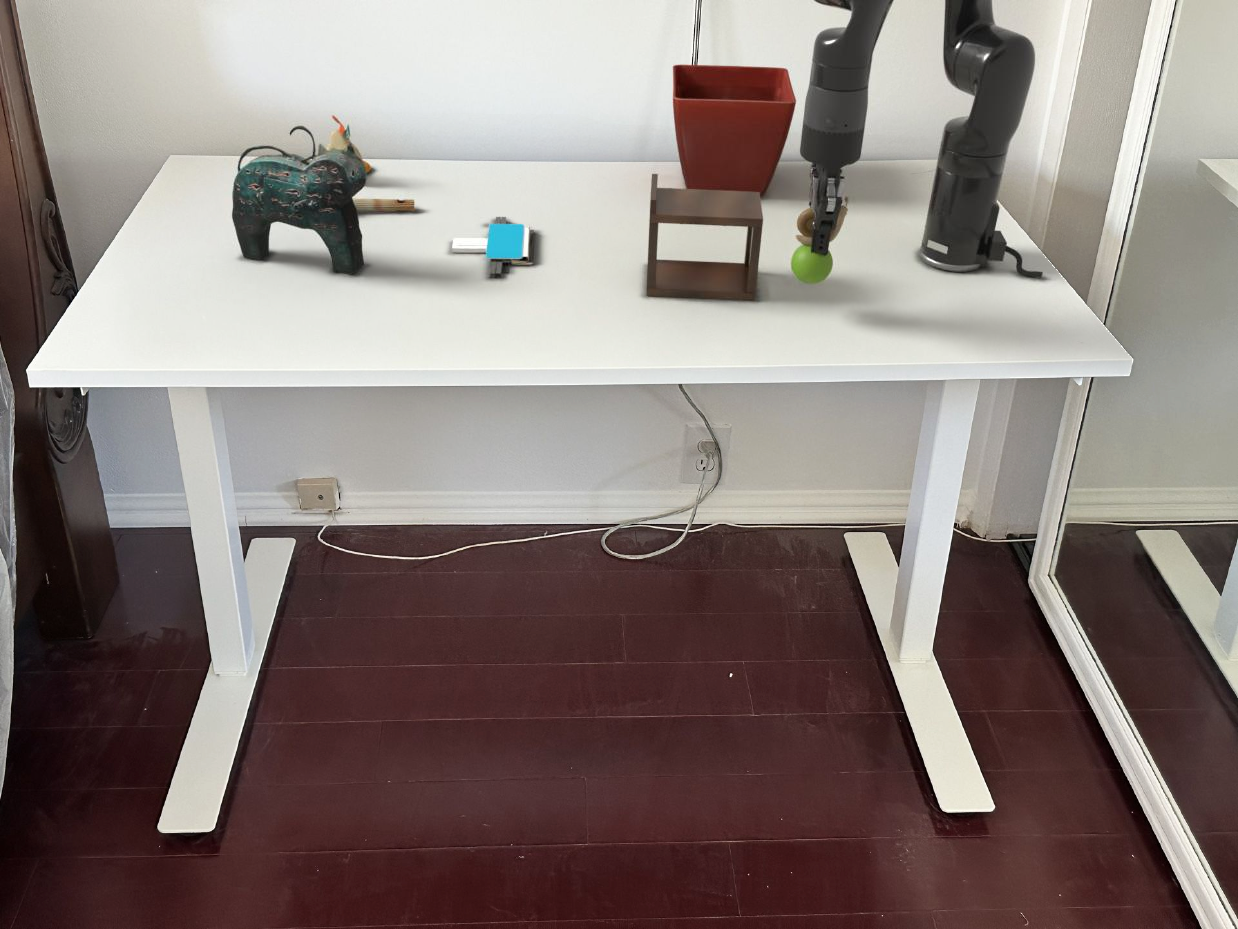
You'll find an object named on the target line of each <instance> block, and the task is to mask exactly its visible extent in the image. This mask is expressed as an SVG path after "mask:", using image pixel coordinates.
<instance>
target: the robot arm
mask: <svg viewBox="0 0 1238 929" xmlns="http://www.w3.org/2000/svg"><path fill="white" fill-rule="evenodd" d="M813 1H814V2H815V3H817V4H820V5H821V6H822V5H823V6H826V7H831V8H834V9H835V8H836V9H839V10H843V11H848V12H851V14H850V18H849V21H848V23H847V24H846V26H840V27H838V26H837V27H829V28H826V29H824V30H822V31H820V32H819V33H818V34H817V35H816V37H815V40H814V44H813V48H812V58H811V65H810V66H811V68H810V74H809V75H810V77H809V82H808V88H807V91H806V92H807V93H806V96H805V100H804V109H803V110H804V111H803V120H802V128H801V136H800V144H799V145H800V146H799V154H800V156H801V157H802V158H803V159H804V160H805V161H807V162H809V163H811V165H810V170H809V181H810V185H809V193H808V198H809V203H808V206H809V208H812V211H813V212H814V220H813V222H812V226H813V233H812V242H811V253H820V254H822V255H824V256H826V255H827V254H828V250H829V249H830V243H831V242H830V234H831V230H832V231H835V228H836V224H837V220H838V216H839V212H840V209H841V206H842V205H843V203H844V201H843V198H842V192H843V191H844V189H845V184H846V183H845V180H846V177H845V175H843V168H844V167H845V166H851V165H853V164H856V163H857V162H858V161H859V160H860V159H861V156H862V149H863V142H864V135H865V129H866V128H865V127H866V122H867V114H868V106H869V85H870V77H871V69H872V62H873V55H874V51H875V48H876V46H877V42H878V40H879V37H880V35H881V32H882V30H883V27H884V24H885V21H886V19H887V17H888V14H889V12H890V10H891V8H892V5H893V4H894V1H895V0H813ZM943 15H944V18H943V19H944V20H943V38H942V39H943V43H942V63H943V71H944V74H945V77H946V79H947V81H948V83H949V84H950V85H952V86H953V87H954V88H955V89H957V90H959V91H961V92H963V93H965V94H968V95H970V96H972V97H973V102H972V105H971V108H970V112H969V115H966V116H959V117H955V118H952V119H950V120H948V121H947V122H946V123H945V124H944V127H943V131H942V133H941V140H940V145H939V150H938V154H937V155H938V156H937V161H936V165H935V170H934V171H935V172H934V177H933V182H932V188H931V193H930V199H929V204H928V207H927V208H928V209H927V213H926V214H927V215H926V220H925V224H924V229H923V234H922V235H923V236H922V239H921V245H920V248H919V254H918V255H919V258H920V260H921V261H922V262H923V263H925V264H927V265H929V266H931V267H934V268H936V269H938V270H939V269H940V270H943V271H949V272H958V273H959V272H961V273H962V272H972V271H975V270H978V269H987V267H988V262H1003V261H1004V258H1005V254H1006V253H1008V254H1009V255H1012V256H1013V257H1014V259H1015V260H1016V263H1015V269H1016V271H1017V273H1018V274H1019V275H1021V276H1023V277H1027V278H1043V274H1044V272H1043V271H1039V270H1037V271H1036V270H1035V271H1033V270H1026V269H1024V268H1023V257H1022V255H1021V254H1020V253H1019V251H1017V250H1016V249H1014V248H1013V247H1010V246H1009V245H1008V242H1007V240H1006V238H1005V236H1004V235H1003V233H1002V231H1001V230H996V226H997V223H998V217H999V214H1000V210H1001V209H1000V208H1001V207H1000V205H999V204H998V198H999V193H1000V188H1001V183H1002V179H1003V174H1004V172H1005V171H1004V170H1005V165H1006V160H1007V156H1008V153H1009V152H1008V151H1009V148H1010V144H1011V141H1012V139H1013V138H1014V136H1015V134H1016V132H1017V131H1018V128H1019V126H1020V123H1021V121H1022V117H1023V113H1024V110H1025V106H1026V102H1027V99H1028V95H1029V92H1030V88H1031V84H1032V81H1033V78H1034V73H1035V67H1036V51H1035V46H1034V44H1033V42H1032V40H1030V39H1029V38H1028V37H1026V36H1025V35H1023V34H1021V33H1018V32H1016V31H1014V30H1011V29H1007V28H1005V27H1002V26H999V25H996V22H995V18H994V9H993V0H944V14H943Z"/></svg>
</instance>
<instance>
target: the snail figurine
mask: <svg viewBox="0 0 1238 929" xmlns="http://www.w3.org/2000/svg"><path fill="white" fill-rule="evenodd" d="M844 202H845V205H843V204H841V209H840V212H839V216H838V220H837V224H836V228H835V231H832V230H831V234H830V242H829V243H832V242H833V241H834V240H835V239H836V237H837V236H838V234H839V233H840V231H841V229H842V226H843V224H844V222H845V218H846V217H847V215H848V210H849V209H848V203H850V198H849V196H845V197H844ZM813 220H814V212H813V211H812V208H810V207H808V208H806V209H804V210H803V211H802V212H801V213H800V214H799V216H798V218H797V219H796V228H797V230H798V232H799V233H800V234H796V235H795V239H796V240H797V241H798V242H799V243H800V244H801V245H799V246H798V247H797V248H796V249H795V250H794V252H793V253H792V256H791V259H790V267H791V271H792V274H793V275H794V276H795V278H796V279H797V280H798V281H799V282H801V283H804V284H807V285H815V284H820V283H821V282H823V281H825V280H826V279H827V278H828V277H829V276H830V274H831V272H832V269H833V266H834V259H833V256H832V253H831V251H830V250H829V249H828V254H827V255H826V256H824V255H822V254H820V253H811V242H812V233H813V226H812V222H813Z"/></svg>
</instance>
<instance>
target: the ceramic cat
mask: <svg viewBox="0 0 1238 929" xmlns="http://www.w3.org/2000/svg"><path fill="white" fill-rule="evenodd" d="M298 130H301V131H304V132H306V133H307V134H308V135H309V136H310V138H311V141H312V154H311V156H308V157H304V156H301V155H298V154H295V153H289V152H286V151H285V150H283V149H281V148H278V147H276V146H273V145H255V146H251V147H248V148H246V149H245V150H244V151H243V152H242V154H241V155H240V157H239V159H238V162H237V174H236V176H235V178H234V181H233V184H232V185H233V186H232V192H231V193H232V194H231V197H232V211H231V218H232V222H233V226H234V229H235V233H236V238H237V241H238V244H239V247H240V251H241V254H242V256H243V258H244V259H249V260H254V261H263V260H265V258H266V257H268V256H269V255H270V232H271V227H272V224H274V223H283V224H286V225H289V226H291V227H295V228H298V229H302V230H311V231H314V232H315V233H317V235H318V236H319V237H320V238H321V240H322V242H323V243H324V245H325V246H326V249H328V252H329V256H330V260H331V269H332V272H333V273H345V274H350V275H355V274H356V273H357V272H358V271H360V269H361V268H362V267H363V266H365V261H364V252H363V235H362V234H363V232H362V231H361V227H360V220H359V211H358V210H357V209H356V206H355V204H354V202H353V199H352V198H354V197H355V196H356V195H357V194H358V193H359V192H360V191H362V189H363V188H364V187H365V186H366V184H367V180H368V179H367V178H368V177H367V173H366V167H365V165H364V163H363V161H364V160H363V159H362V160H363V161H362V160H361V159H360V158H359V157H358V156H357V155H356V153H355V151H354V148H353V146H352V145H351V143H352V142H351V143H349V144H348V145H347V146H346V147H345V148H344V149H343V150H333V151H327V150H326V149H327V148H326V147H325V146H324V144H321V143H319V144H318V148H317V149H318V150H316V143H315V139H314V135H313V133H312V132H311V130H309V128H307V127H305V126H304V125H296V126H294V127H293V128H292V129H291V130H290V131H289V135H290V136H292V134H293V133H294V132H295V131H298ZM265 149H266V150H273V151H277V152H279V154H263V155H260V156H258V157H254V158H253V159H251V160H249V162H248V163H247V164H245V165H244V166H242V167H241V164H242V161H243V160H244V158H245V157H246V156H247V155H248V154H249V153H251V152H252V151H257V150H265ZM316 152H317V155H316Z"/></svg>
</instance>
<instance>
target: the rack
mask: <svg viewBox="0 0 1238 929" xmlns="http://www.w3.org/2000/svg"><path fill="white" fill-rule="evenodd" d="M658 176H659V174H658V173H651V186H650V198H649V199H650V200H649V202H650V203H649V220H648V221H649V222H648V224H649V226H648V242H647V243H648V246H647V266H646V267H647V271H646V272H647V274H646V289H645V290H646V293H645V295H646V297H662V298H683V299H684V298H685V299H687V298H688V299H710V300H731V301H752V302H753V301H756V293H757V284H758V274H759V263H760V255H761V254H760V253H761V244H762V236H763V225H764V216H763V208H762V201H761V196H760V193H759V192H748V191H724V190H700V189H686V188H674V187H658V179H659V178H658ZM659 224H673V225H694V226H695V225H696V226H697V225H698V226H719V227H720V226H721V227H743V228H744V227H745V228H747V229H746V238H745V249H744V261H743V262H724V261H721V262H720V261H702V260H701V261H700V260H681V259H679V260H677V259H658V242H659V241H658V238H659Z"/></svg>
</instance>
